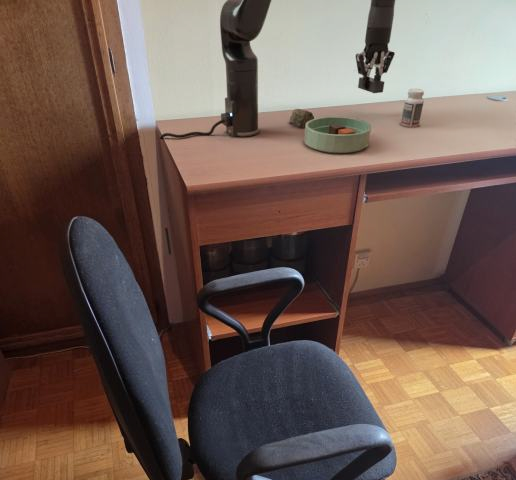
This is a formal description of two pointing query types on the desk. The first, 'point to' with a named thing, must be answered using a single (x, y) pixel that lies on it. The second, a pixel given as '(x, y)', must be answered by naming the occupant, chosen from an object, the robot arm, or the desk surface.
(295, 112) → the rock
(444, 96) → the desk surface
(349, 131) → the terracotta block
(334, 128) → the walnut block
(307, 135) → the bowl
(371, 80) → the black rectangular block
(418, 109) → the pill bottle
